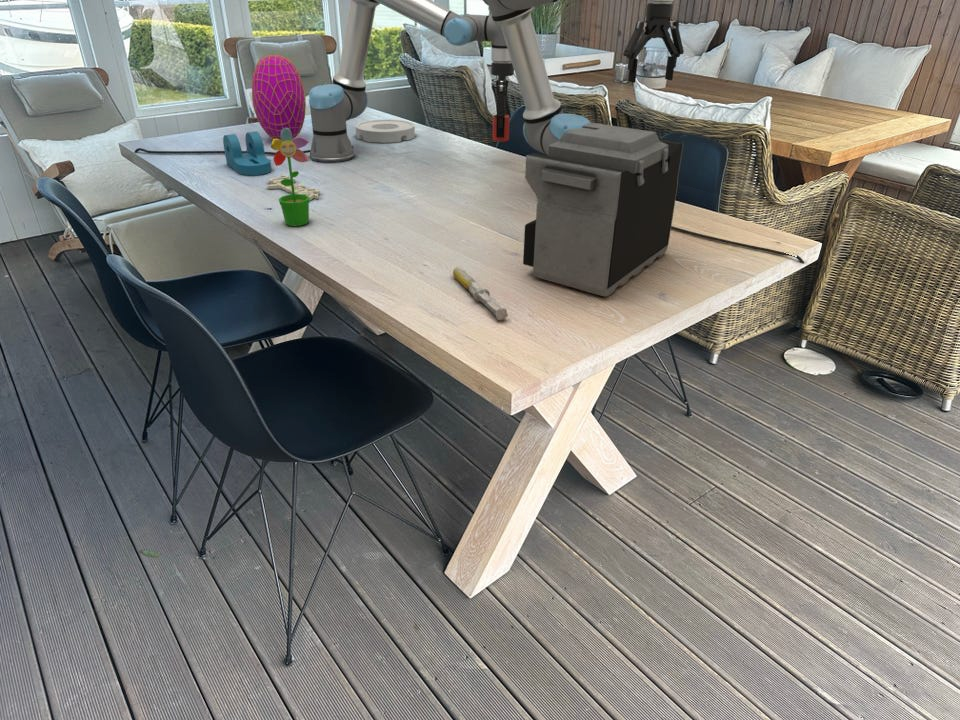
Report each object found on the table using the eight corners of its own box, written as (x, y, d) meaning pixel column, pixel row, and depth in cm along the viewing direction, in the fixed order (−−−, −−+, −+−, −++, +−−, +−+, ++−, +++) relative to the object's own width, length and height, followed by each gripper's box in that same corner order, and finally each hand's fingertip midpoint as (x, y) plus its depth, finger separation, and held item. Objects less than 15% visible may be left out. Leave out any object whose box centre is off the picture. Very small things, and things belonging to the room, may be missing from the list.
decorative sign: (256, 179, 214) (285, 174, 220) (256, 182, 215) (285, 177, 220) (297, 199, 197) (327, 193, 203) (297, 203, 198) (328, 196, 203)
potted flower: (284, 229, 179) (270, 130, 166) (277, 220, 185) (263, 124, 172) (319, 224, 183) (308, 127, 170) (311, 215, 188) (300, 121, 176)
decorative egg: (293, 132, 276) (283, 50, 261) (319, 140, 264) (310, 56, 249) (249, 139, 265) (236, 54, 250) (273, 148, 253) (261, 60, 238)
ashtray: (362, 128, 283) (361, 118, 281) (418, 129, 282) (417, 119, 280) (351, 142, 263) (350, 131, 261) (411, 143, 262) (411, 132, 260)
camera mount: (227, 164, 233) (221, 132, 227) (257, 160, 238) (252, 129, 233) (244, 176, 220) (239, 143, 215) (276, 172, 225) (271, 139, 220)
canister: (509, 138, 238) (509, 114, 234) (508, 141, 233) (509, 117, 229) (492, 137, 238) (493, 114, 234) (491, 141, 233) (492, 117, 229)
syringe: (449, 274, 155) (449, 263, 153) (465, 272, 156) (464, 260, 154) (490, 323, 135) (491, 310, 133) (508, 319, 136) (508, 307, 134)
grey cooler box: (592, 232, 179) (603, 112, 164) (672, 251, 168) (693, 125, 153) (515, 277, 153) (520, 140, 138) (603, 303, 142) (620, 157, 127)
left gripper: (513, 66, 215) (510, 141, 227) (515, 58, 231) (512, 129, 243) (489, 65, 215) (487, 141, 227) (493, 58, 231) (491, 128, 243)
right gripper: (686, 1, 206) (675, 76, 217) (616, 2, 197) (608, 81, 208) (703, 2, 200) (691, 80, 211) (631, 3, 192) (622, 84, 202)
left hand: (500, 135), depth 235 cm, fingers closed on canister, 6 cm apart
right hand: (650, 80), depth 210 cm, fingers open, 13 cm apart
